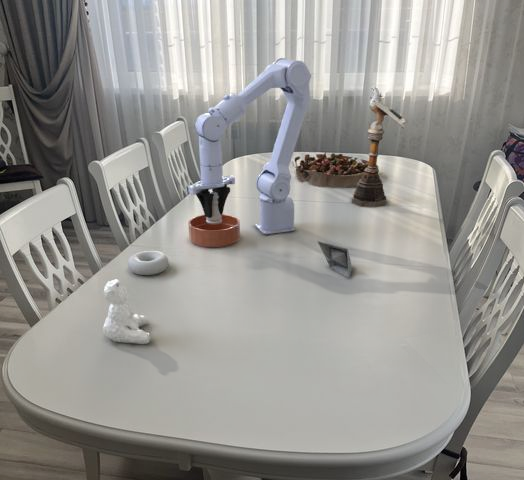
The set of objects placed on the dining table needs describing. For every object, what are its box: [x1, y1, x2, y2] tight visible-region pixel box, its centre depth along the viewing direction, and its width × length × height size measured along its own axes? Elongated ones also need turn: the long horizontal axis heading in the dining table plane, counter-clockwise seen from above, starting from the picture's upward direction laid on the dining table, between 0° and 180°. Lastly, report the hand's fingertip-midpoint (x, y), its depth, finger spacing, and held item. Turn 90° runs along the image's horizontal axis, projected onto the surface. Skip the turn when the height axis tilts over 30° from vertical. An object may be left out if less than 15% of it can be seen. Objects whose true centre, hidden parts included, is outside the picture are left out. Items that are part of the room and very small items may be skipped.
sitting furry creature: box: [102, 278, 151, 345], centre depth 105 cm, size 10×9×12 cm
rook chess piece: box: [206, 191, 222, 225], centre depth 148 cm, size 4×4×8 cm
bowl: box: [187, 213, 241, 248], centre depth 152 cm, size 14×14×5 cm
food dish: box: [291, 152, 380, 188], centre depth 209 cm, size 35×33×8 cm
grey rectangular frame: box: [317, 241, 353, 279], centre depth 134 cm, size 12×6×9 cm
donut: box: [127, 250, 170, 276], centre depth 135 cm, size 10×4×10 cm
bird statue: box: [351, 86, 407, 208], centre depth 173 cm, size 17×13×35 cm
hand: (213, 215), depth 149 cm, fingers closed on rook chess piece, 3 cm apart
